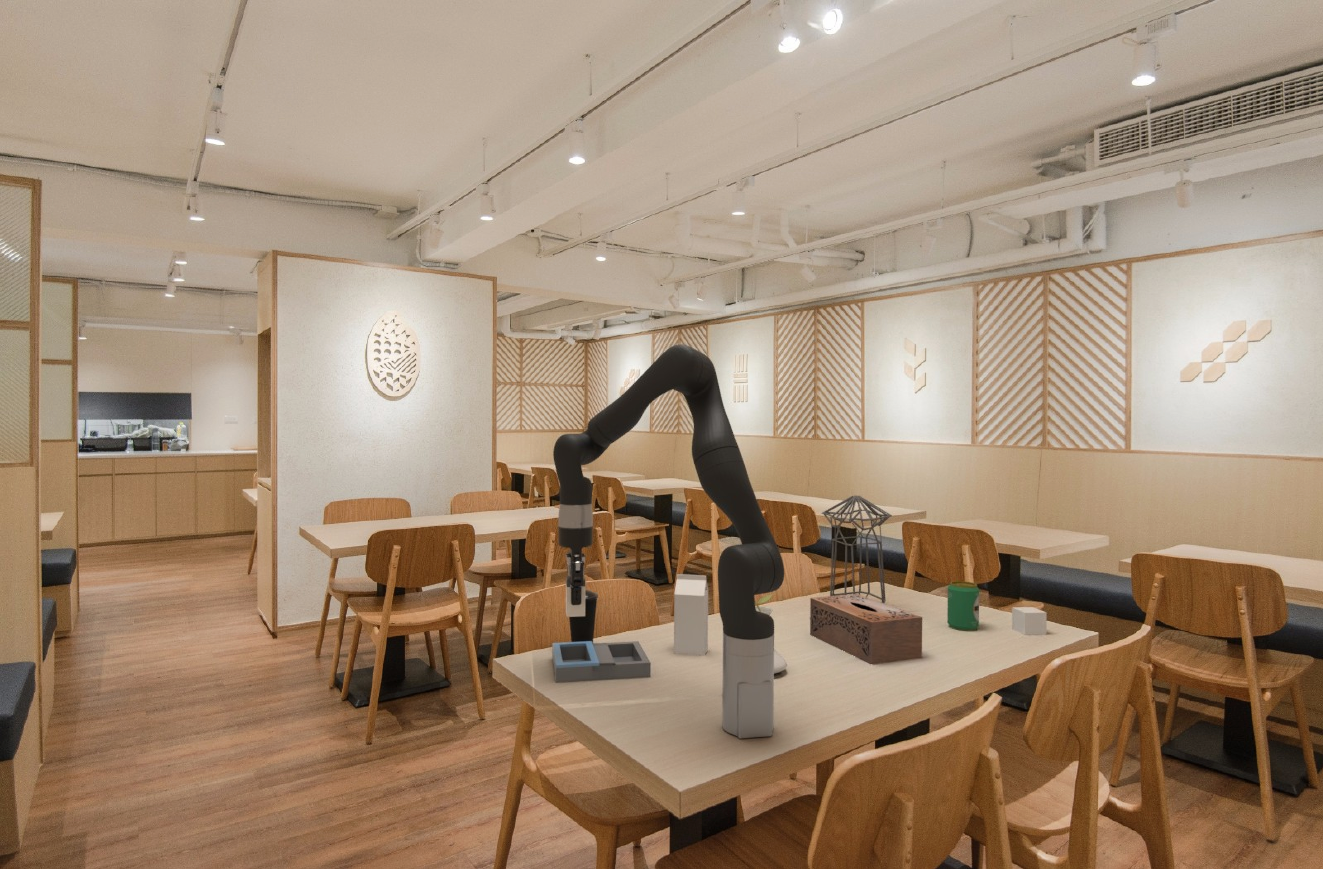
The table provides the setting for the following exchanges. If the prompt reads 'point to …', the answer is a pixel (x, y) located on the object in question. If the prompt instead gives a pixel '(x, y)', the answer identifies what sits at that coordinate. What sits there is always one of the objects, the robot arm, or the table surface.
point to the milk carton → (691, 615)
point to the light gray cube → (1029, 620)
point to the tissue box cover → (866, 628)
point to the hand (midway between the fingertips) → (575, 601)
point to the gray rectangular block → (570, 609)
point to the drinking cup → (584, 620)
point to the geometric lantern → (851, 502)
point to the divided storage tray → (599, 661)
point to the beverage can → (963, 606)
